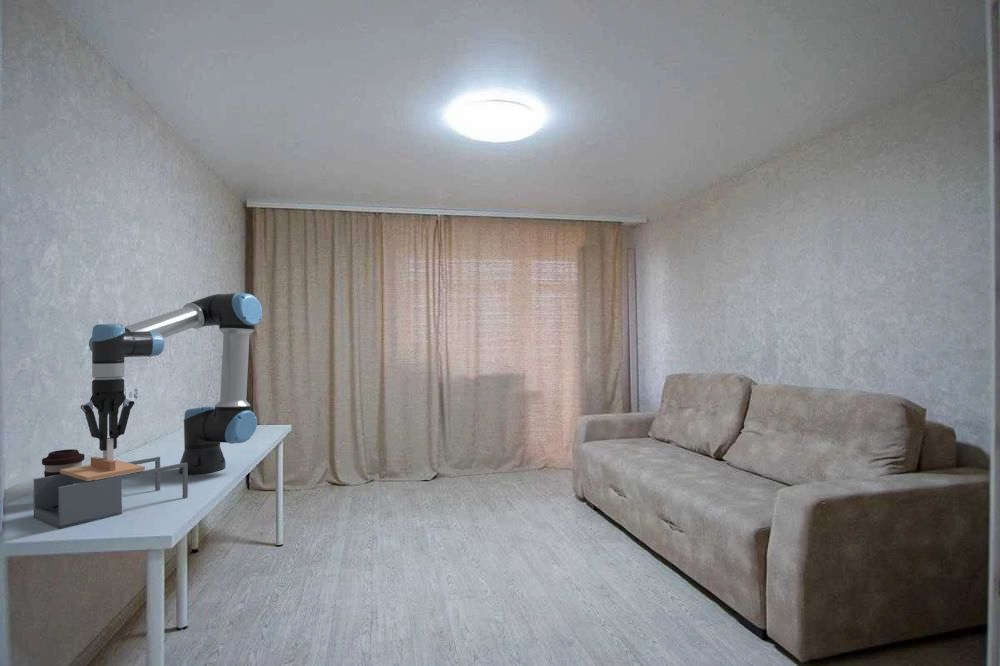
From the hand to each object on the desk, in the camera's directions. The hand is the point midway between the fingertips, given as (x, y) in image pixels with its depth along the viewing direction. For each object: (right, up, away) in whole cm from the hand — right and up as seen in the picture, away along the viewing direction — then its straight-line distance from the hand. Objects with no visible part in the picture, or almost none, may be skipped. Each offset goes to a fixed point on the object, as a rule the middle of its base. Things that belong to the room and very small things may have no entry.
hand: (108, 461), depth 156 cm
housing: (+1, -13, +1) cm, 14 cm away
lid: (-1, -3, -1) cm, 3 cm away
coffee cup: (-18, -14, +7) cm, 24 cm away
